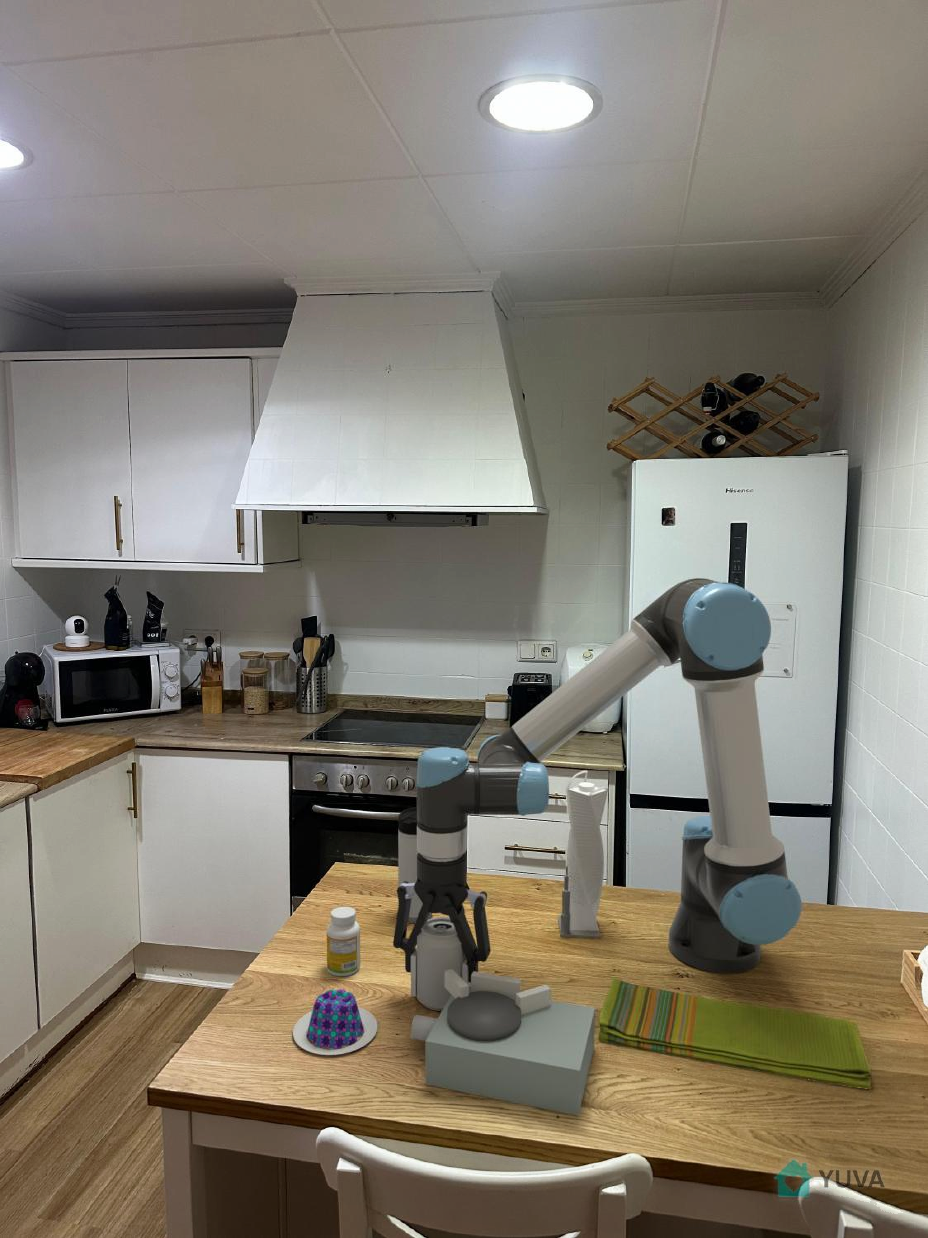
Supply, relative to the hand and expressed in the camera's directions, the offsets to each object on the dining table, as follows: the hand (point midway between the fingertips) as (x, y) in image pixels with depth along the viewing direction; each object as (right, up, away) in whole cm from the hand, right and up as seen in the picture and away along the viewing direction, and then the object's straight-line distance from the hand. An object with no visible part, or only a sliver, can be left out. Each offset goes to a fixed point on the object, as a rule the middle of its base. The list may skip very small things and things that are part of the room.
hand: (441, 996), depth 129 cm
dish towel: (+41, -3, -7) cm, 42 cm away
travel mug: (-5, +2, +28) cm, 28 cm away
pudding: (-15, -2, -8) cm, 17 cm away
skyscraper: (+25, +2, +24) cm, 34 cm away
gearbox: (+8, -2, -15) cm, 17 cm away
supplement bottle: (-16, 0, +9) cm, 18 cm away
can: (0, -1, 0) cm, 1 cm away
